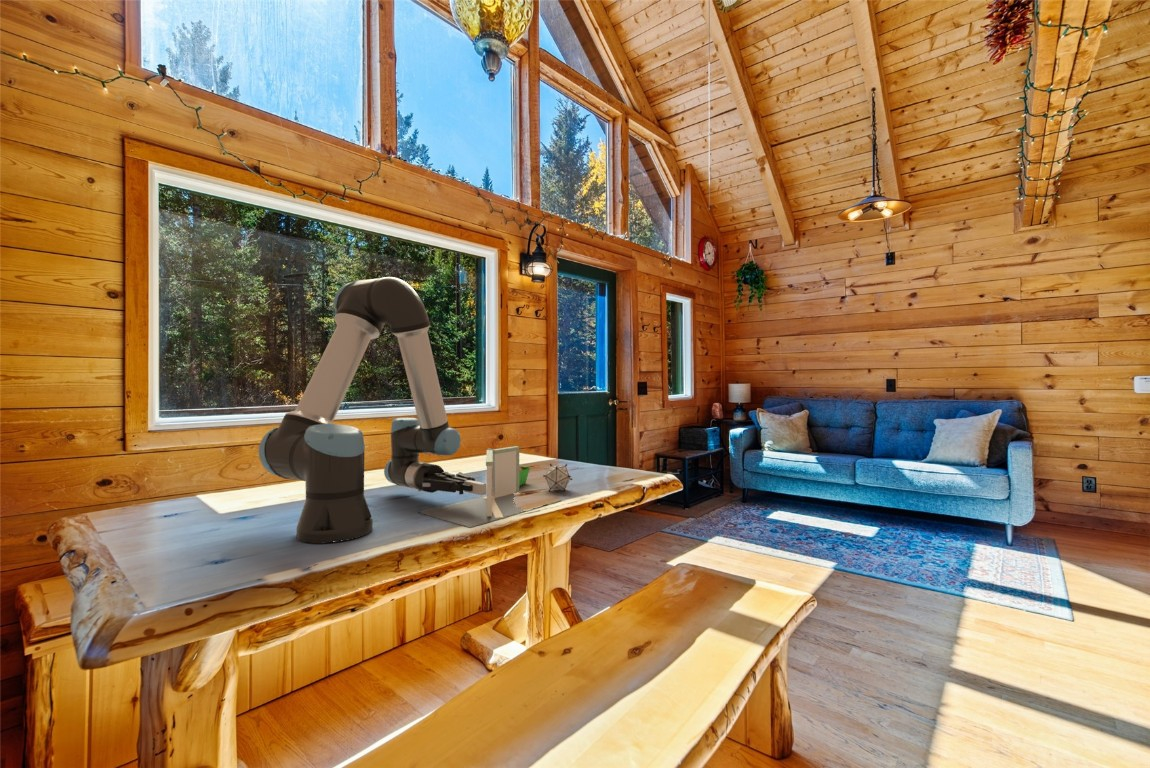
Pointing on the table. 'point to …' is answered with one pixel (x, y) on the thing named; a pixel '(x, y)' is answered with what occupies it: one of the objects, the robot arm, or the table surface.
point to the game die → (557, 477)
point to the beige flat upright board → (489, 480)
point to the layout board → (476, 510)
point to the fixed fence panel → (505, 471)
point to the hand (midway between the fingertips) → (484, 489)
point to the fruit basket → (523, 474)
